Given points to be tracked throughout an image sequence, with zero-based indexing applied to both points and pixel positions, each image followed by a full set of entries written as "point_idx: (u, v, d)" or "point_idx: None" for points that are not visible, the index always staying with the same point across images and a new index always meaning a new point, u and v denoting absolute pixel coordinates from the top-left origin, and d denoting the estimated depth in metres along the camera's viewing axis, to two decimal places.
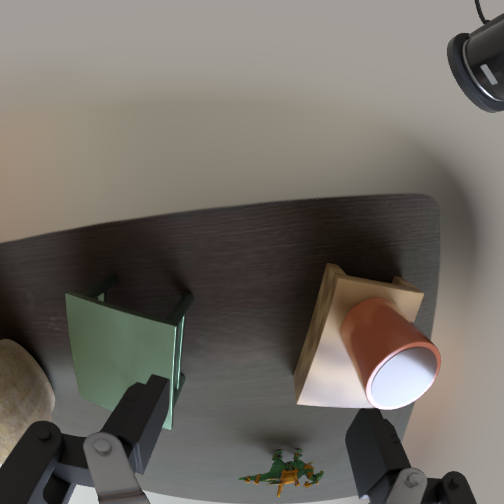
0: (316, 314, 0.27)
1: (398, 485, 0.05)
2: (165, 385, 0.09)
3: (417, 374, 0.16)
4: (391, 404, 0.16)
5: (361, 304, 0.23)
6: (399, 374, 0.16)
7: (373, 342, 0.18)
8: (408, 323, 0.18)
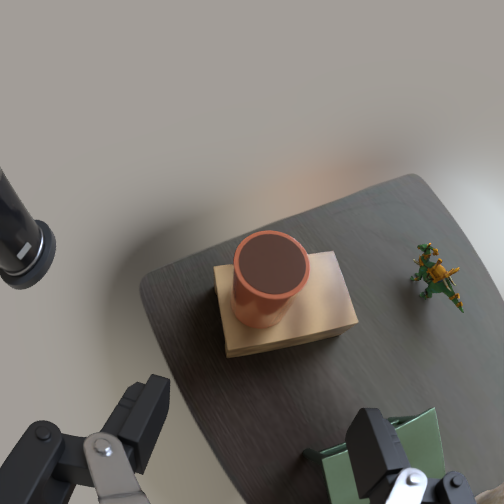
0: (272, 348, 0.30)
1: (398, 485, 0.05)
2: (165, 385, 0.09)
3: (265, 253, 0.22)
4: (302, 258, 0.22)
5: (241, 321, 0.27)
6: (271, 271, 0.22)
7: (256, 306, 0.22)
8: (232, 281, 0.24)
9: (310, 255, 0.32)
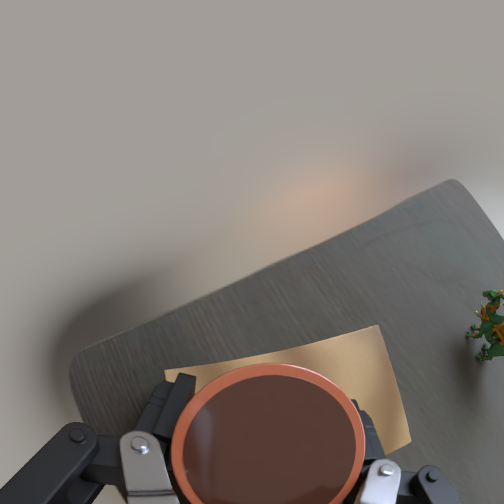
0: None
1: (371, 478, 0.06)
2: (193, 382, 0.10)
3: (254, 433, 0.07)
4: (348, 432, 0.07)
5: None
6: (269, 477, 0.06)
7: None
8: None
9: (340, 338, 0.17)
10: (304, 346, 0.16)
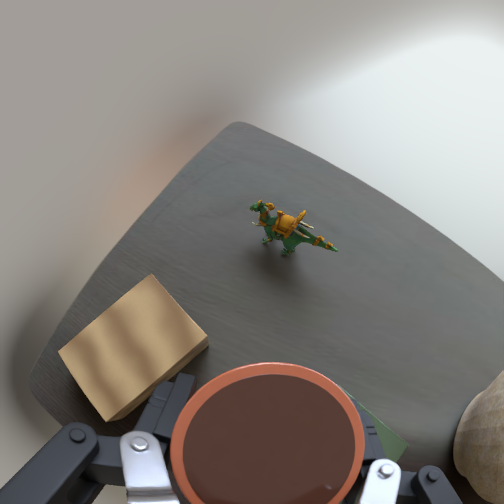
0: (148, 394, 0.26)
1: (371, 478, 0.06)
2: (193, 382, 0.10)
3: (253, 432, 0.07)
4: (347, 431, 0.07)
5: None
6: (268, 476, 0.06)
7: None
8: None
9: (130, 292, 0.28)
10: (112, 305, 0.27)
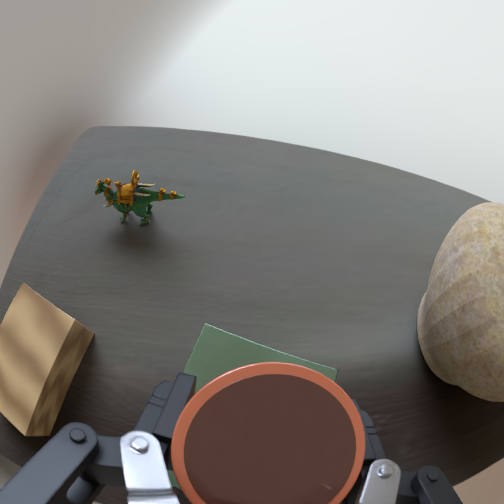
0: (56, 400, 0.21)
1: (371, 478, 0.06)
2: (193, 382, 0.10)
3: (254, 432, 0.07)
4: (348, 431, 0.07)
5: None
6: (269, 476, 0.06)
7: None
8: None
9: (11, 305, 0.22)
10: (1, 323, 0.20)
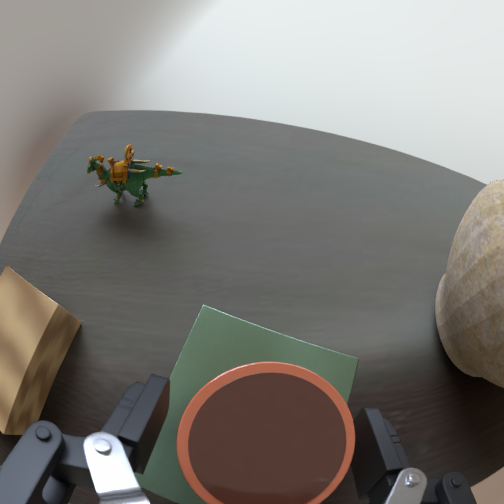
0: (39, 395, 0.18)
1: (398, 485, 0.05)
2: (165, 385, 0.09)
3: (252, 425, 0.08)
4: (338, 425, 0.08)
5: None
6: (265, 466, 0.07)
7: None
8: None
9: None
10: None
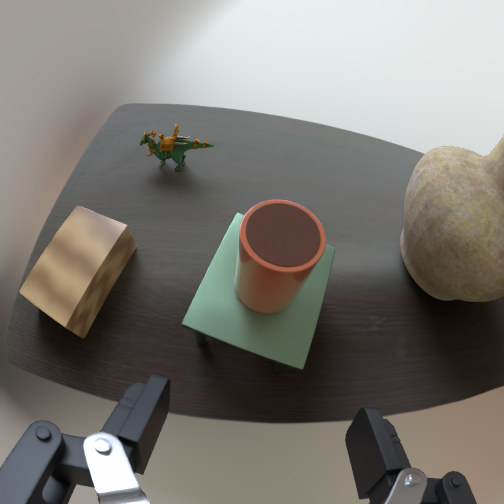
0: (98, 300, 0.30)
1: (398, 485, 0.05)
2: (165, 385, 0.09)
3: (275, 222, 0.20)
4: (316, 228, 0.20)
5: (248, 305, 0.24)
6: (282, 242, 0.19)
7: (266, 283, 0.20)
8: (237, 256, 0.21)
9: (65, 222, 0.31)
10: (53, 237, 0.29)
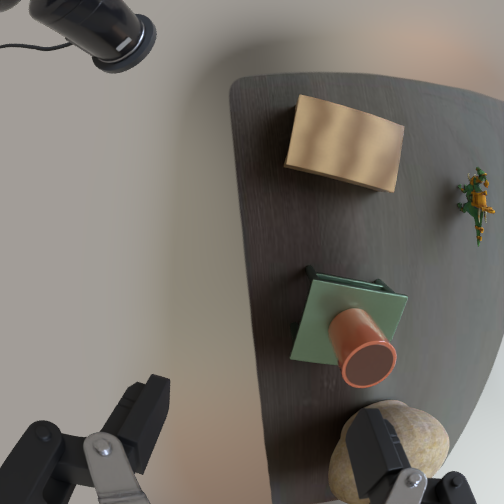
0: (321, 175, 0.35)
1: (398, 485, 0.05)
2: (165, 385, 0.09)
3: (377, 359, 0.25)
4: (373, 381, 0.26)
5: (332, 322, 0.32)
6: (363, 366, 0.25)
7: (339, 353, 0.27)
8: (359, 329, 0.27)
9: (383, 120, 0.30)
10: (365, 113, 0.30)
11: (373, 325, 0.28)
